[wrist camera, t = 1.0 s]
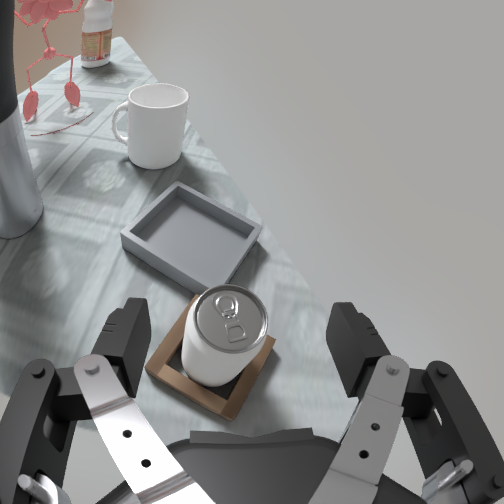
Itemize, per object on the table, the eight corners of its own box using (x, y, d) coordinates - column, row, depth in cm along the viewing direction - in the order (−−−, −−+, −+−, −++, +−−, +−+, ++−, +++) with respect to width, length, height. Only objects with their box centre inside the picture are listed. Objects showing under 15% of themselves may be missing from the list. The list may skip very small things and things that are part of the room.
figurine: (5, 117, 46) (-4, -17, 18) (102, 92, 58) (116, -42, 30) (-4, 153, 40) (-26, -10, 12) (109, 122, 52) (125, -44, 24)
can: (228, 326, 34) (255, 272, 25) (248, 378, 31) (286, 344, 21) (174, 339, 31) (177, 287, 22) (191, 394, 28) (202, 369, 19)
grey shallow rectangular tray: (122, 247, 36) (120, 232, 34) (175, 195, 44) (176, 180, 41) (213, 305, 35) (217, 293, 33) (256, 240, 42) (262, 226, 40)
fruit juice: (83, 70, 64) (88, -16, 43) (79, 62, 68) (84, -16, 46) (112, 64, 69) (121, -19, 47) (106, 57, 73) (114, -20, 51)
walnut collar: (145, 371, 28) (144, 366, 27) (194, 301, 35) (196, 293, 33) (230, 421, 27) (234, 420, 26) (270, 345, 34) (276, 339, 32)
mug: (186, 168, 48) (195, 107, 39) (114, 176, 43) (111, 113, 34) (175, 137, 52) (183, 82, 43) (112, 144, 47) (111, 86, 38)
